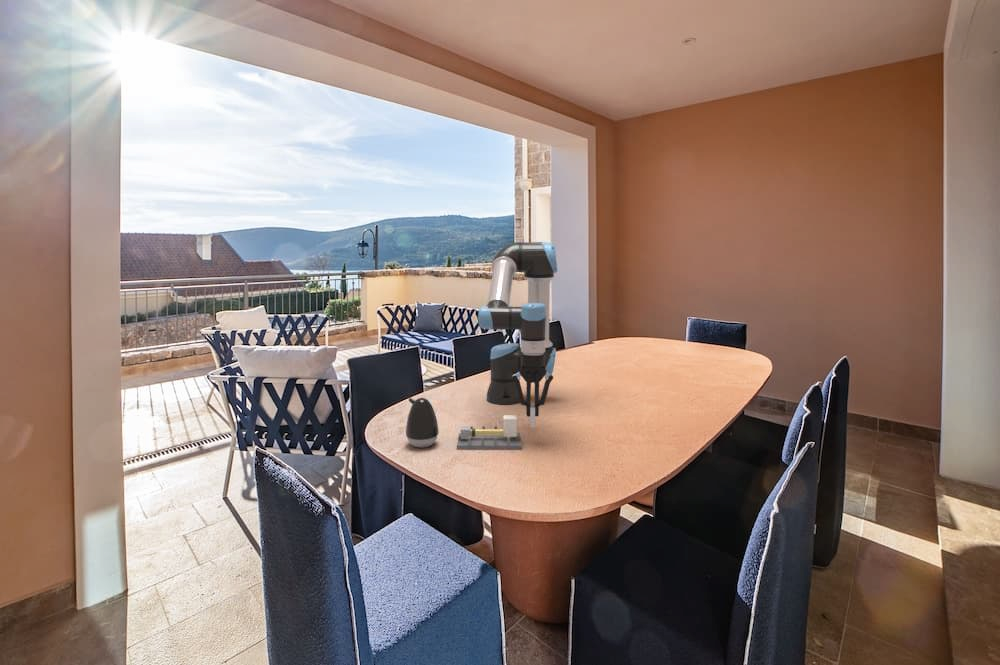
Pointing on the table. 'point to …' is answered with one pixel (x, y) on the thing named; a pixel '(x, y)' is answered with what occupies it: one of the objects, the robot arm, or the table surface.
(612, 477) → the table surface
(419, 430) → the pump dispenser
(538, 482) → the table surface
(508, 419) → the sleeve
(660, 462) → the table surface
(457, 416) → the table surface
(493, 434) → the cable comb
